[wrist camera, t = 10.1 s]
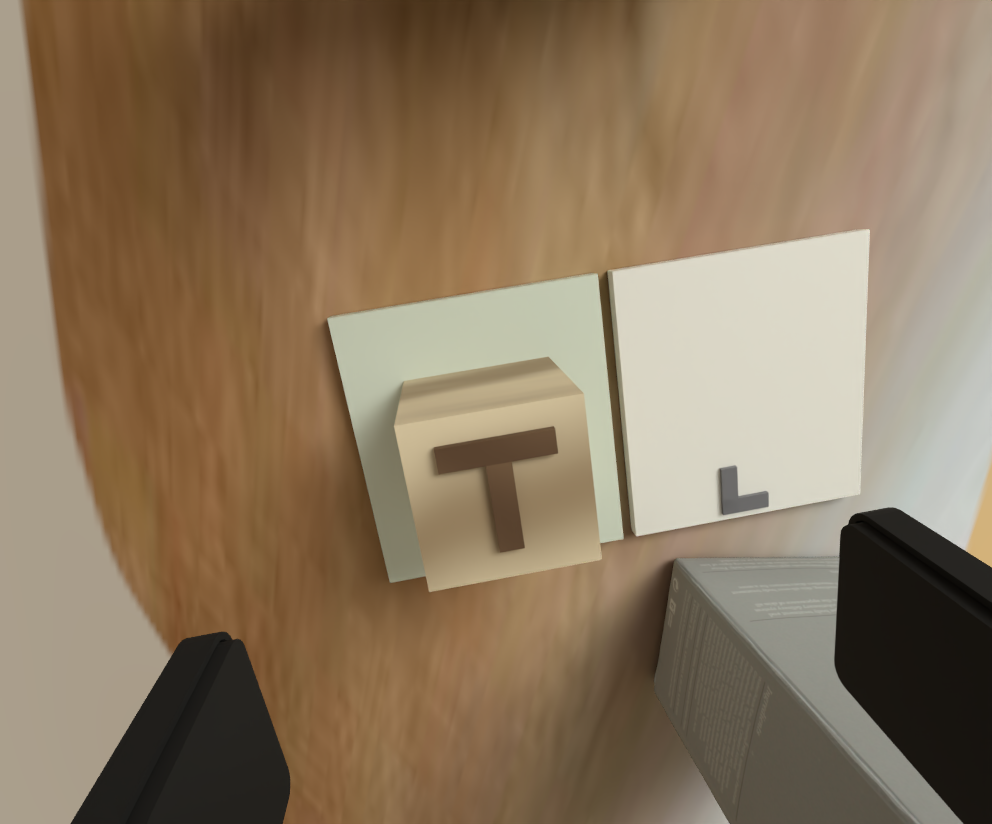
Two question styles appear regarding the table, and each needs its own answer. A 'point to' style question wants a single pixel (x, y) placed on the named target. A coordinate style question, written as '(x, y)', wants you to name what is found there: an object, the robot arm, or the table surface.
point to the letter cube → (498, 472)
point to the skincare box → (777, 699)
